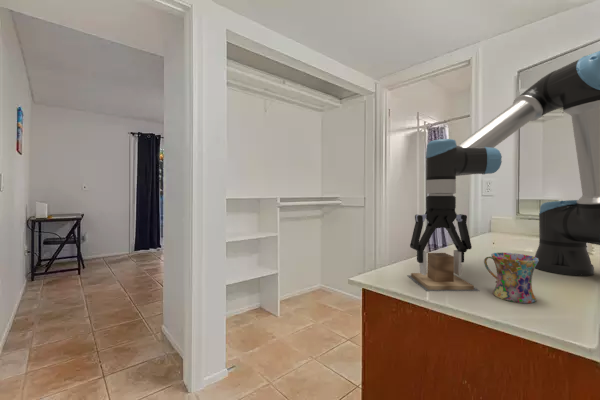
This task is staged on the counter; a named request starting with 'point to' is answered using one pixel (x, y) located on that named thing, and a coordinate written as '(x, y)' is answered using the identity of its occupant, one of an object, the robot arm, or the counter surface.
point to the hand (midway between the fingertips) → (440, 273)
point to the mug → (513, 276)
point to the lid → (441, 274)
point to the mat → (436, 290)
